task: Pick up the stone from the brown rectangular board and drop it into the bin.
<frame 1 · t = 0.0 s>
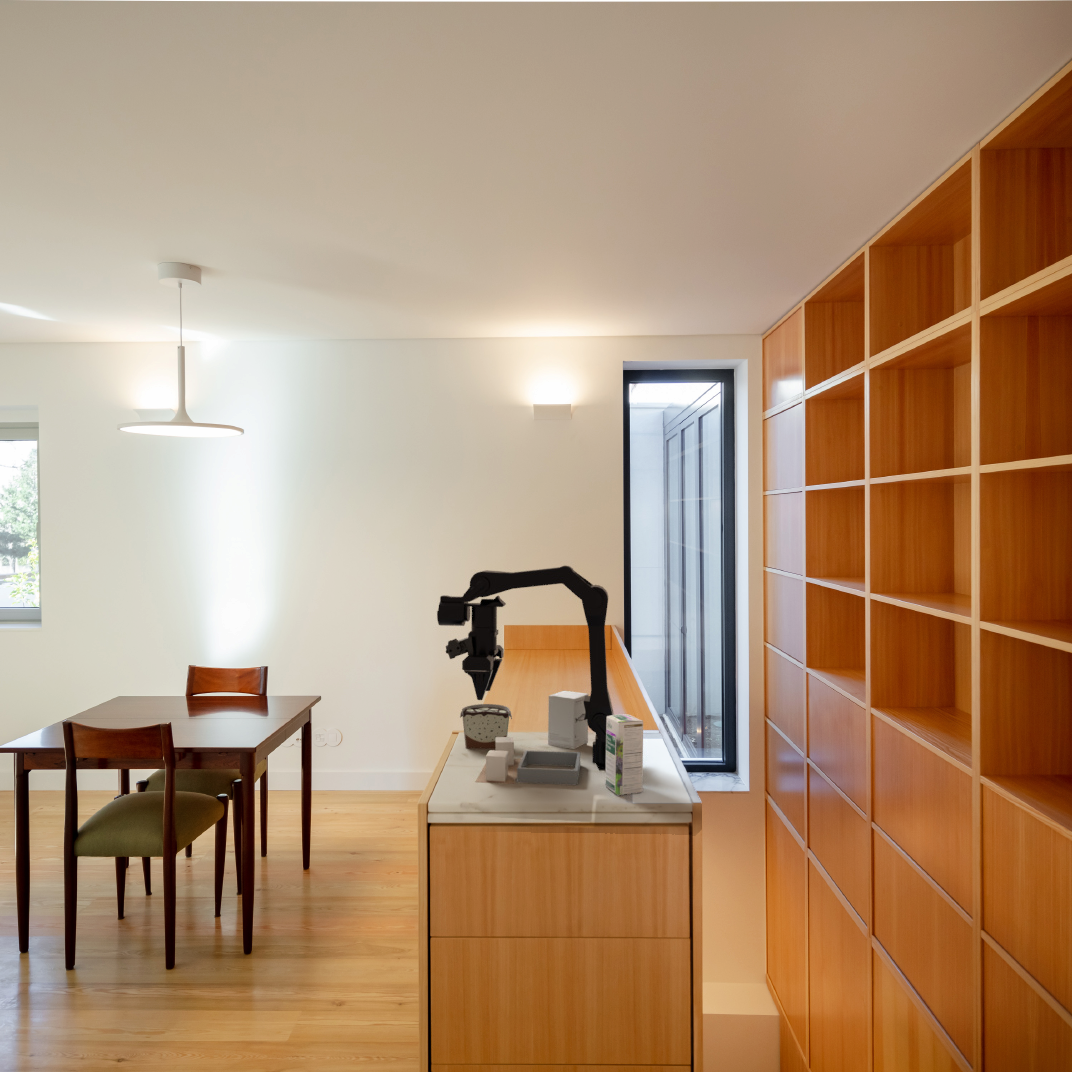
hand: (483, 695, 161), 15 cm above the countertop, tool pointing down, fingers open, 9 cm apart
beige boxy piece: (504, 762, 157), point 1 cm above the countertop, touching brown rectangular board
stone b: (497, 777, 147), point 1 cm above the countertop, touching brown rectangular board
brown rectangular board: (500, 773, 152), on the countertop
syrup box: (623, 790, 143), on the countertop
supplement box: (568, 747, 172), on the countertop
food container: (487, 749, 170), on the countertop
bin: (549, 777, 150), on the countertop
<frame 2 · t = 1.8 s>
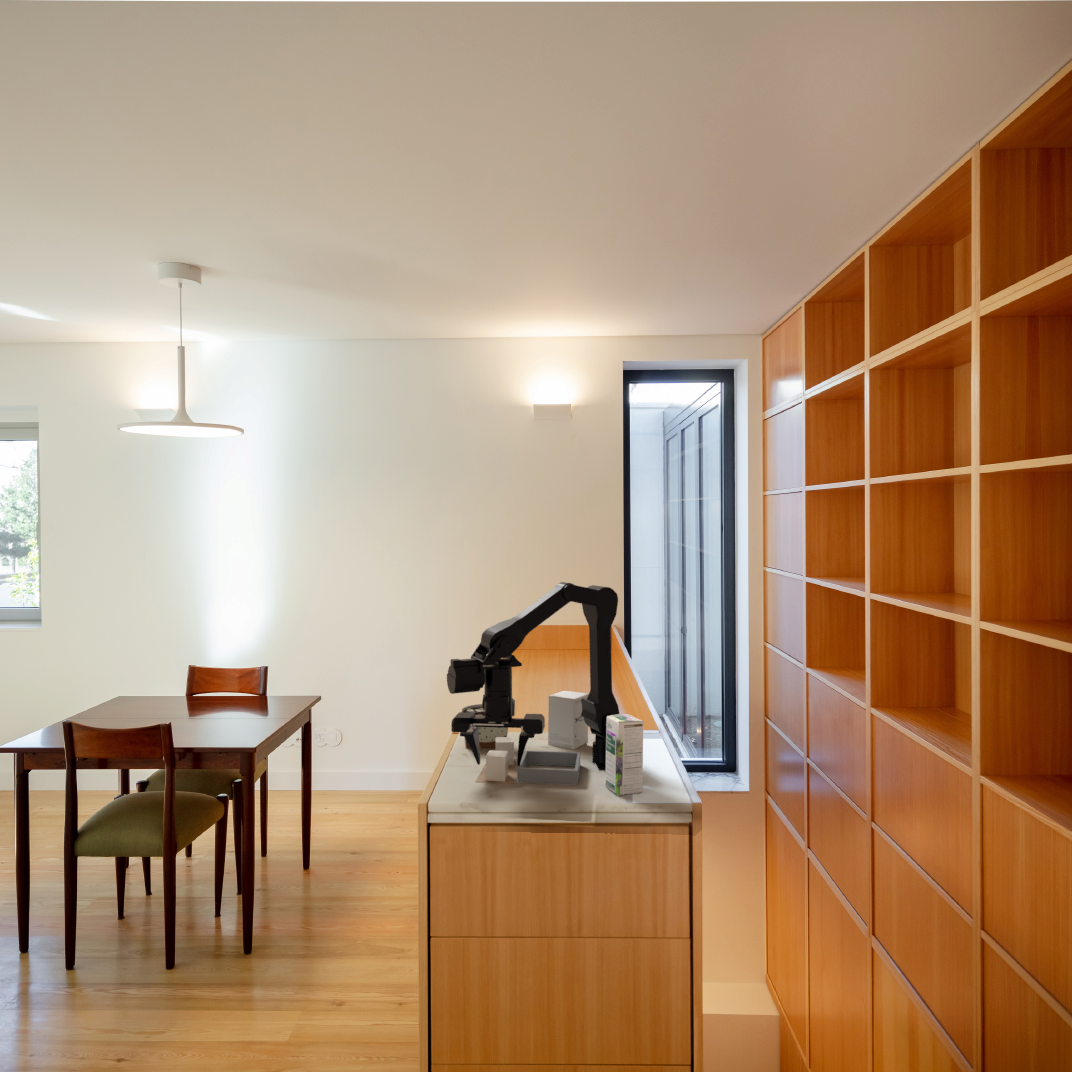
hand: (498, 764, 147), 4 cm above the countertop, tool pointing down, fingers open, 8 cm apart
nothing on the countertop moved.
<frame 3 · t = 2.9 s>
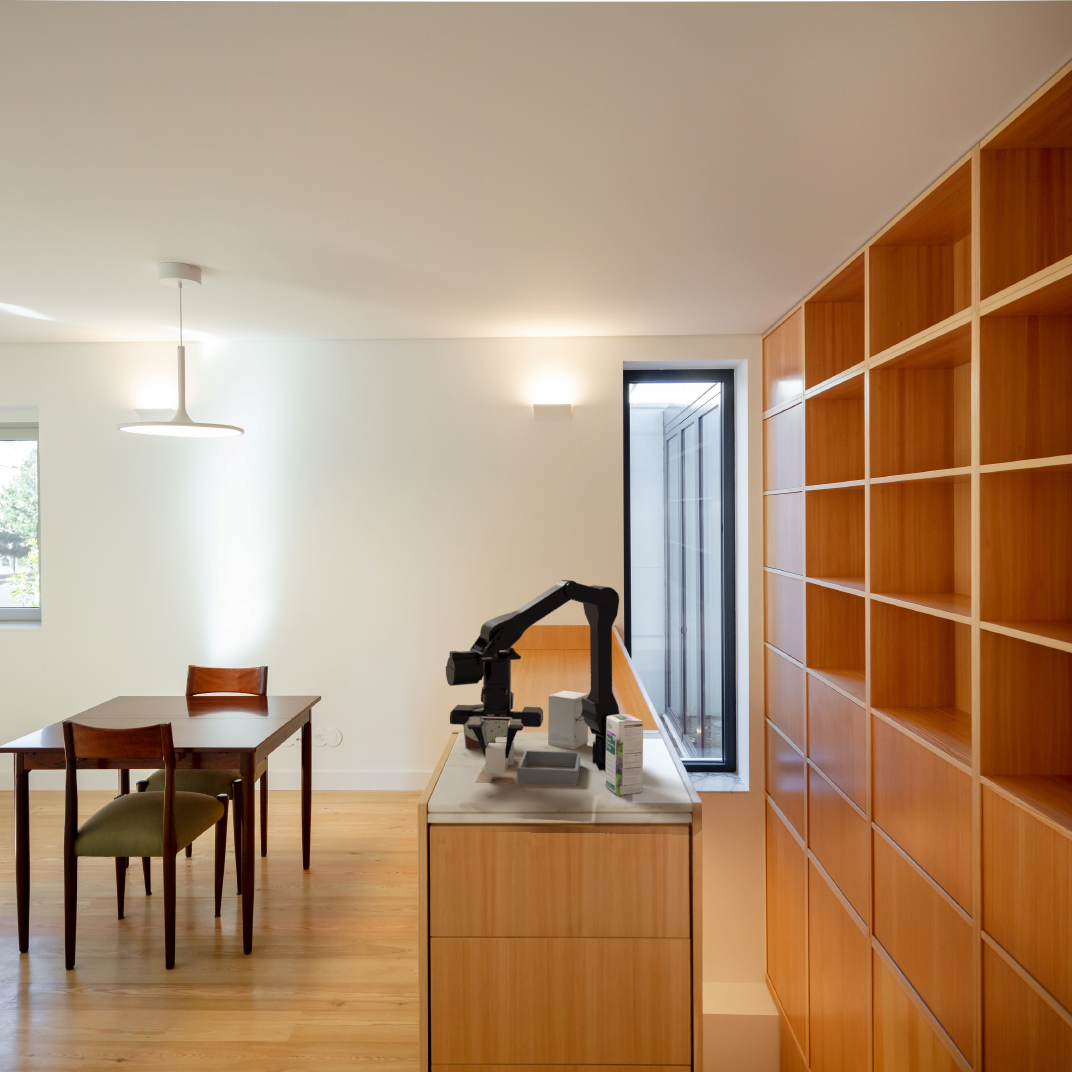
hand: (496, 757, 147), 5 cm above the countertop, tool pointing down, fingers closed on stone b, 4 cm apart
stone b: (496, 770, 147), point 2 cm above the countertop, touching gripper
everything else where it was.
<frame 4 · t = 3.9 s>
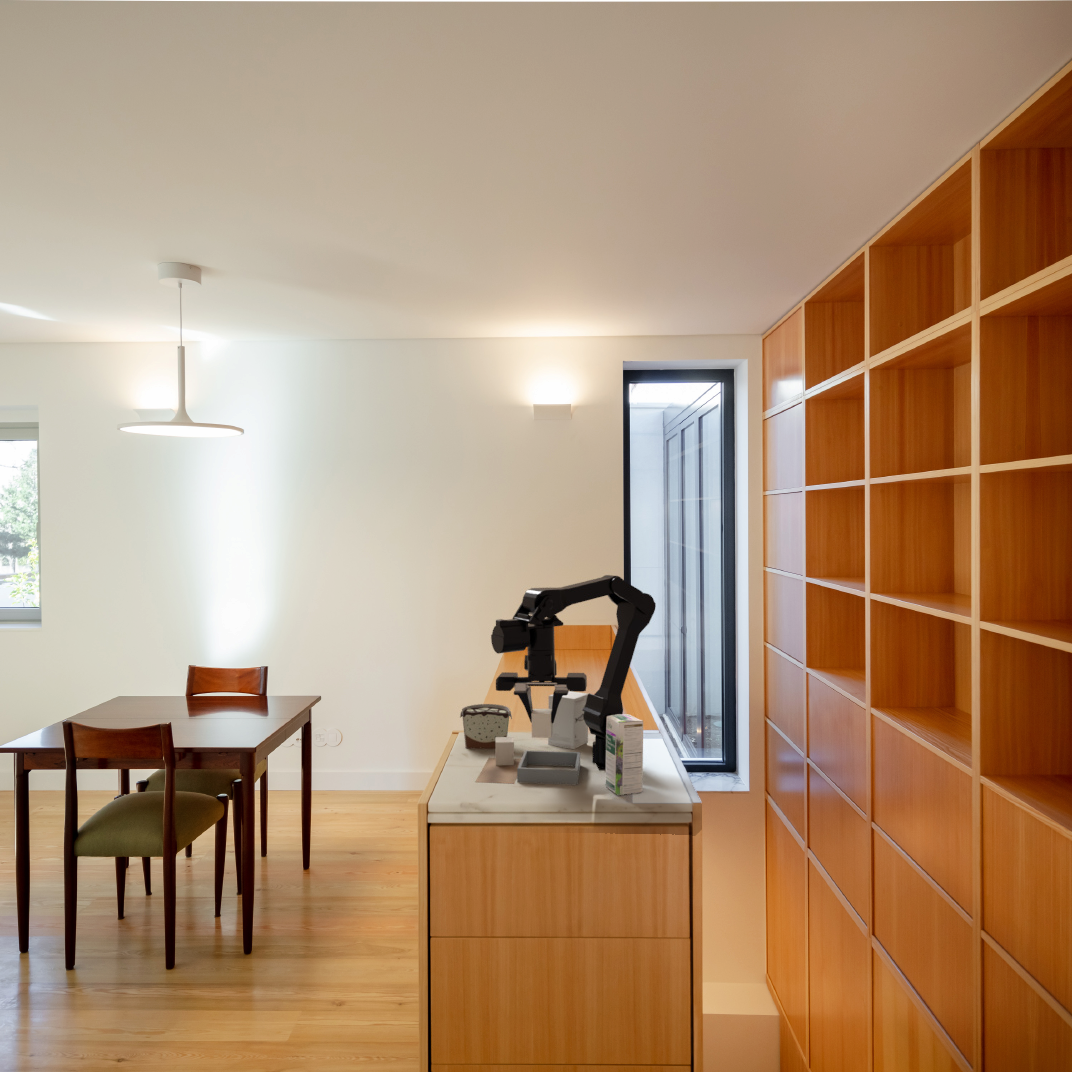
hand: (542, 722, 150), 12 cm above the countertop, tool pointing down, fingers closed on stone b, 4 cm apart
stone b: (542, 734, 150), point 9 cm above the countertop, touching gripper
everything else where it was.
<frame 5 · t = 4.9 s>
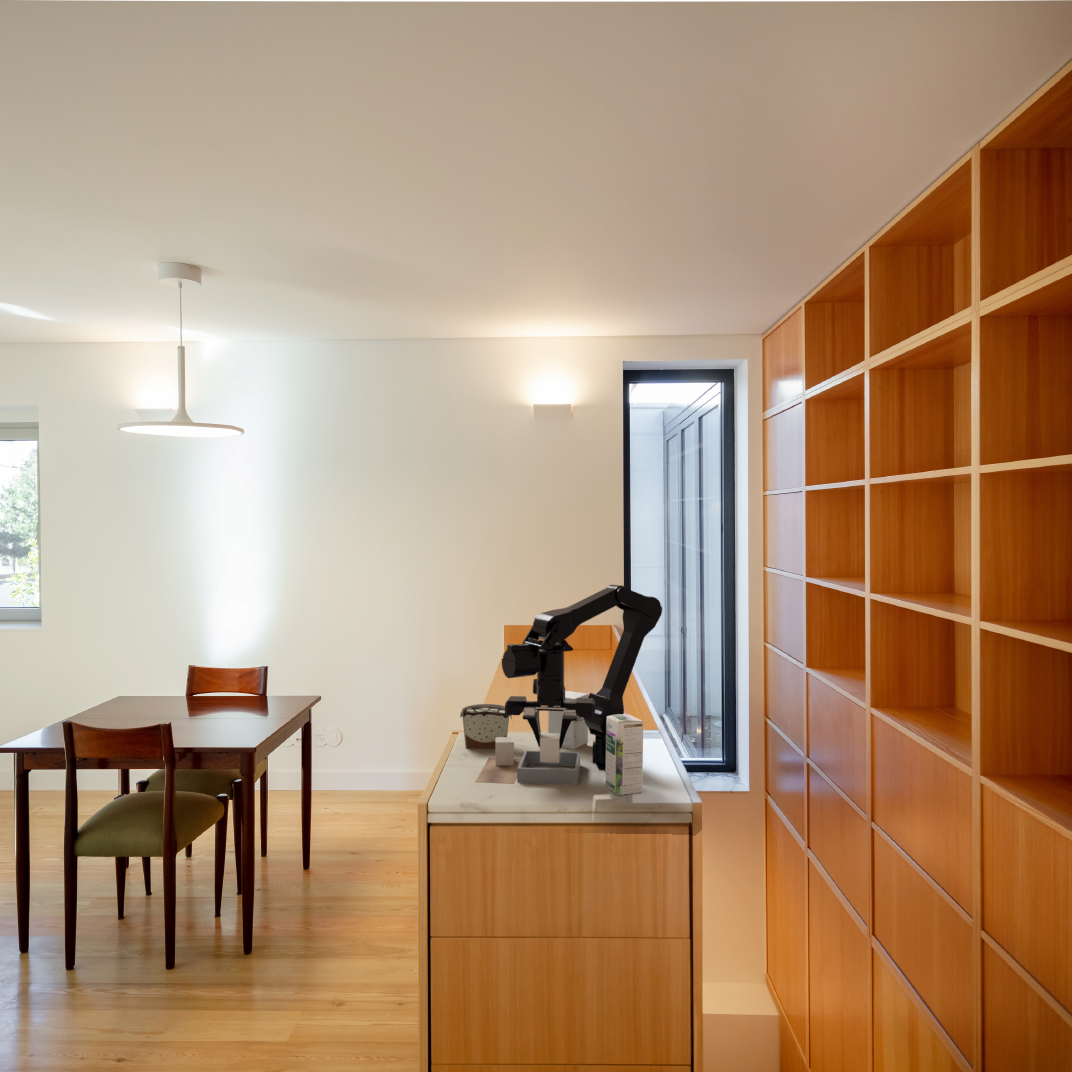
hand: (550, 747, 150), 6 cm above the countertop, tool pointing down, fingers closed on stone b, 4 cm apart
stone b: (550, 759, 150), point 4 cm above the countertop, touching gripper
everything else where it was.
when the fingers open (5 cm above the countertop, at t = 5.5 s): stone b drops 1 cm, resting on bin.
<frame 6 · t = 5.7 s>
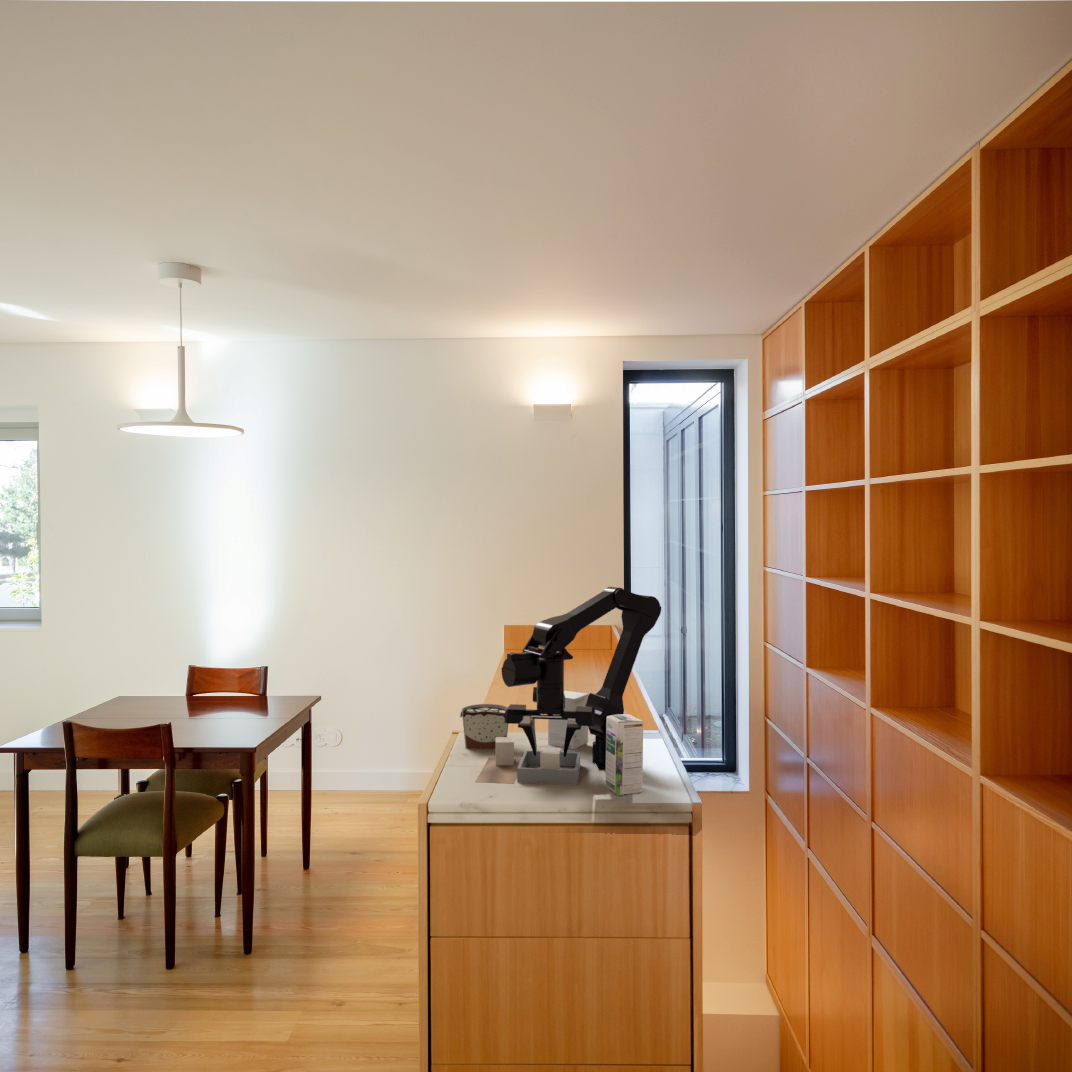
hand: (550, 755, 150), 5 cm above the countertop, tool pointing down, fingers open, 6 cm apart
stone b: (550, 774, 150), point 1 cm above the countertop, touching bin
everything else where it was.
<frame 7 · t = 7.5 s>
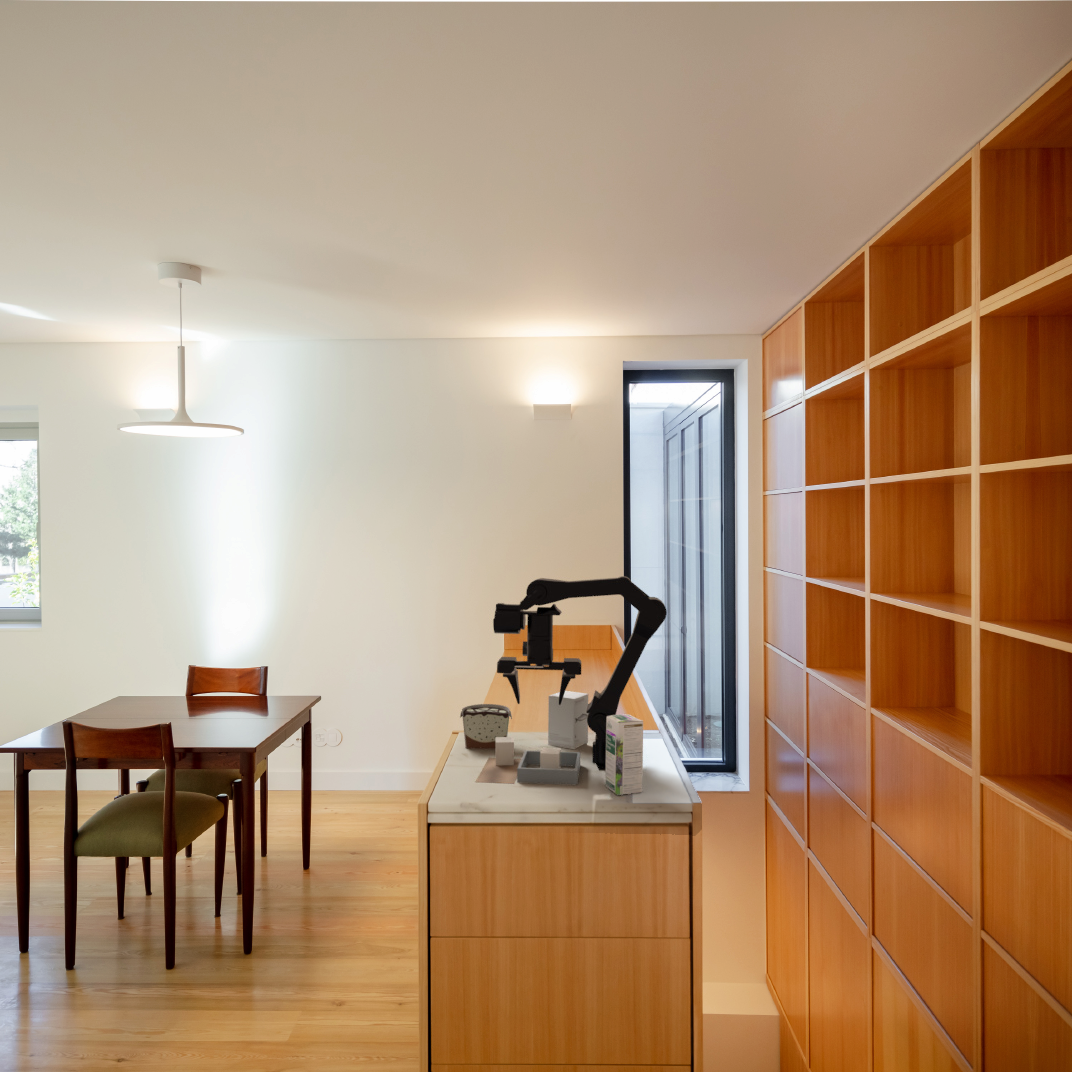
hand: (539, 704, 160), 13 cm above the countertop, tool pointing down, fingers open, 9 cm apart
nothing on the countertop moved.
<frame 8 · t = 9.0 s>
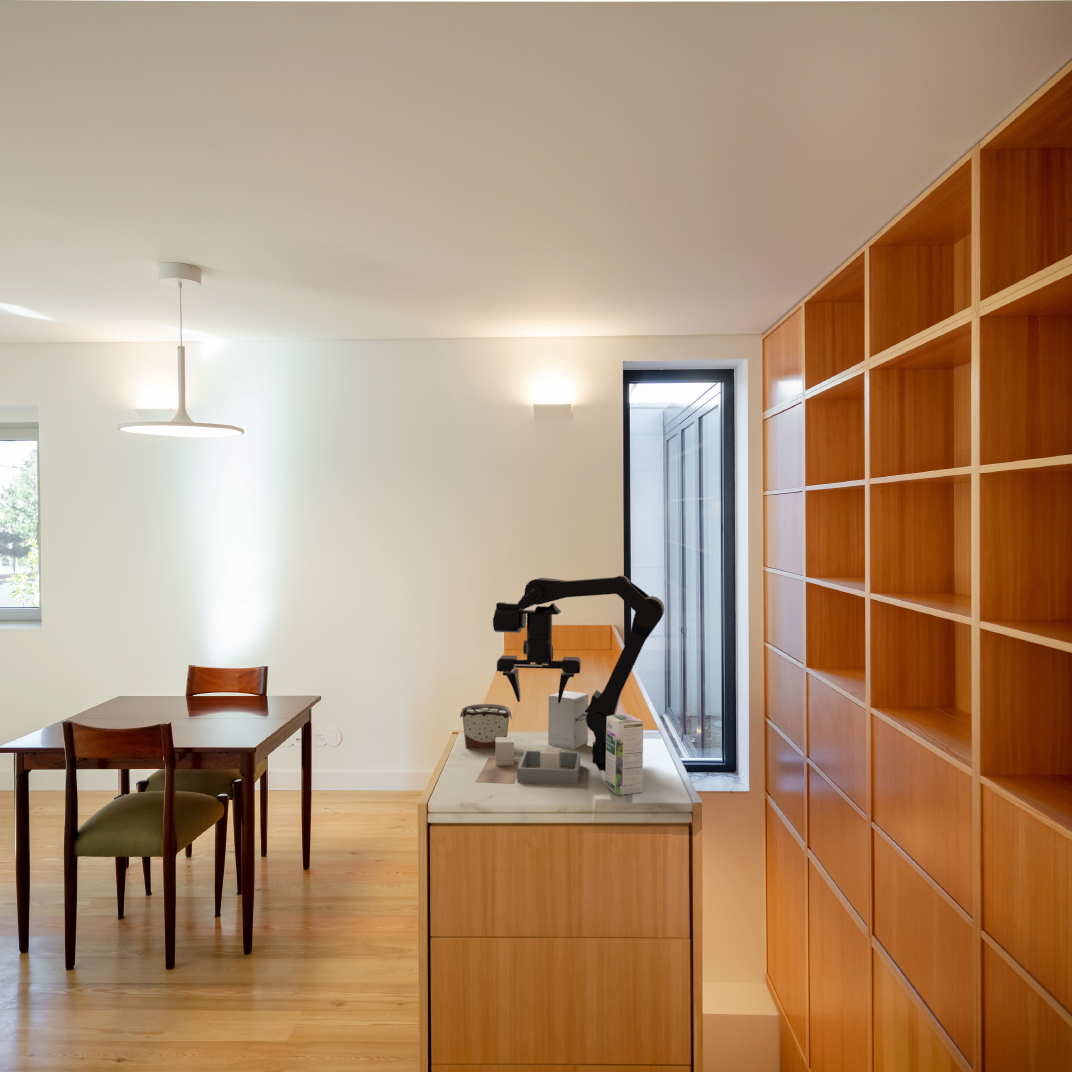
hand: (539, 702, 162), 13 cm above the countertop, tool pointing down, fingers open, 9 cm apart
nothing on the countertop moved.
at the end: stone b inside the target area on the bin (0.1 cm from its centre), point 0.6 cm above the bin's base; the gripper is holding nothing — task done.
